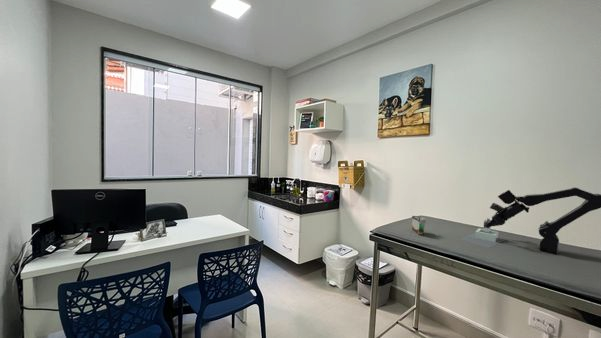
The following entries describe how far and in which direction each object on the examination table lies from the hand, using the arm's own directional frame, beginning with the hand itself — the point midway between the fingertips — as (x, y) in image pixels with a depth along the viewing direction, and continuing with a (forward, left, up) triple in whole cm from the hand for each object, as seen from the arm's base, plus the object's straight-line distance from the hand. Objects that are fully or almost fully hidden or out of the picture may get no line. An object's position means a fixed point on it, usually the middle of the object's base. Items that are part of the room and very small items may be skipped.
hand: (487, 224), depth 152 cm
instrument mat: (+1, +6, -9) cm, 10 cm away
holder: (0, 0, -8) cm, 8 cm away
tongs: (0, 0, -8) cm, 8 cm away
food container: (+28, +26, -9) cm, 40 cm away
